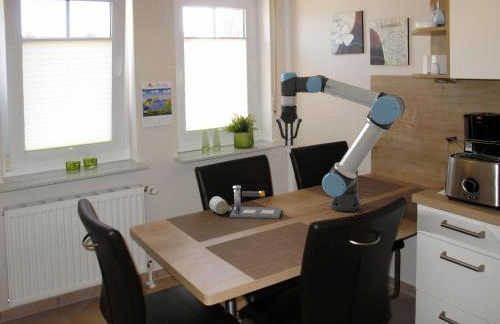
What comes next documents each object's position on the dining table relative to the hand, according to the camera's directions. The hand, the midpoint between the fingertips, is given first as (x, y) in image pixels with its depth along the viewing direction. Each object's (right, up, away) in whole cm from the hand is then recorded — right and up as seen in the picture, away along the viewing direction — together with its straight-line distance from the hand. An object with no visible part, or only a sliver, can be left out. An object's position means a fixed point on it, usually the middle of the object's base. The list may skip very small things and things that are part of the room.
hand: (289, 152), depth 257 cm
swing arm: (-18, -22, +2) cm, 28 cm away
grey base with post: (-16, -31, 0) cm, 35 cm away
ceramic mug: (-34, -30, +4) cm, 46 cm away
